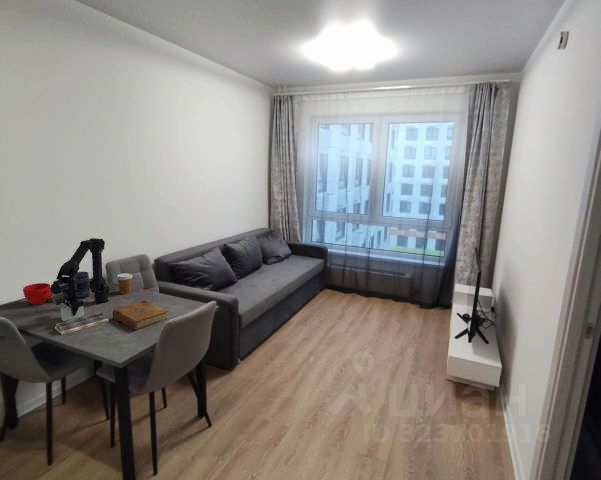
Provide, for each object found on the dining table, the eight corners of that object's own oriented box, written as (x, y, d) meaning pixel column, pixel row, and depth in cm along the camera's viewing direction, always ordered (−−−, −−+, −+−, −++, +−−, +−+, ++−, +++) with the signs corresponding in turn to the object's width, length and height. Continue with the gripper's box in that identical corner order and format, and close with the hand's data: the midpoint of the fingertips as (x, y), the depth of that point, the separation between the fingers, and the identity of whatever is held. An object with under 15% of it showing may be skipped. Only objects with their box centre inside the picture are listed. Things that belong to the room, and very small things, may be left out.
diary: (113, 319, 194) (112, 309, 193) (144, 309, 209) (144, 300, 208) (135, 331, 181) (135, 321, 180) (167, 320, 196) (167, 310, 195)
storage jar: (73, 294, 225) (71, 272, 222) (91, 293, 229) (89, 271, 226) (71, 300, 216) (68, 276, 213) (89, 298, 221) (87, 275, 218)
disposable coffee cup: (120, 289, 237) (119, 272, 235) (135, 289, 239) (134, 272, 236) (115, 294, 228) (113, 277, 226) (130, 294, 229) (129, 277, 227)
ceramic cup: (43, 308, 203) (41, 292, 201) (18, 305, 206) (16, 288, 204) (62, 300, 215) (60, 285, 213) (39, 297, 218) (37, 282, 216)
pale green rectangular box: (82, 314, 198) (81, 302, 196) (84, 315, 196) (83, 303, 195) (61, 319, 190) (60, 307, 189) (63, 321, 188) (62, 308, 187)
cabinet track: (100, 315, 197) (100, 310, 196) (108, 321, 191) (108, 316, 190) (55, 328, 180) (54, 323, 179) (62, 334, 174) (61, 329, 173)
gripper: (46, 287, 189) (49, 314, 192) (59, 296, 178) (62, 324, 181) (70, 282, 198) (72, 308, 201) (83, 290, 186) (86, 318, 190)
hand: (72, 314), depth 193 cm, fingers closed on pale green rectangular box, 3 cm apart
